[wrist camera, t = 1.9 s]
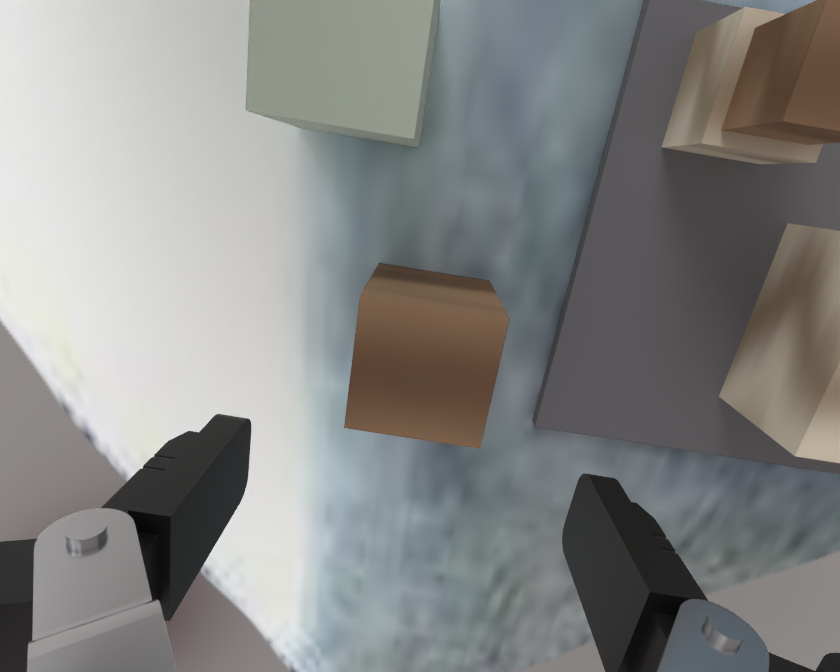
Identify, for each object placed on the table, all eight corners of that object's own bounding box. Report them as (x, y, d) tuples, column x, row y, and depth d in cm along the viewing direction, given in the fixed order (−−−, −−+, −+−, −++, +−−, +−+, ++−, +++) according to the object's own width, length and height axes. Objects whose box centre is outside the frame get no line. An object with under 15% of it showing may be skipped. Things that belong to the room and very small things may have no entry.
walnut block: (379, 262, 22) (360, 294, 16) (489, 280, 22) (509, 319, 16) (365, 365, 23) (344, 427, 18) (468, 381, 23) (480, 448, 18)
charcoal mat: (644, -3, 18) (651, -8, 18) (1101, 80, 19) (1122, 77, 18) (532, 420, 24) (535, 426, 23) (883, 475, 24) (894, 482, 24)
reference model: (696, 32, 18) (818, -32, 12) (800, 51, 18) (969, -4, 12) (661, 147, 19) (757, 137, 14) (759, 164, 19) (895, 161, 14)
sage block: (309, -15, 18) (253, -98, 13) (439, 8, 18) (442, -63, 13) (298, 127, 20) (246, 110, 14) (419, 147, 20) (413, 138, 14)
